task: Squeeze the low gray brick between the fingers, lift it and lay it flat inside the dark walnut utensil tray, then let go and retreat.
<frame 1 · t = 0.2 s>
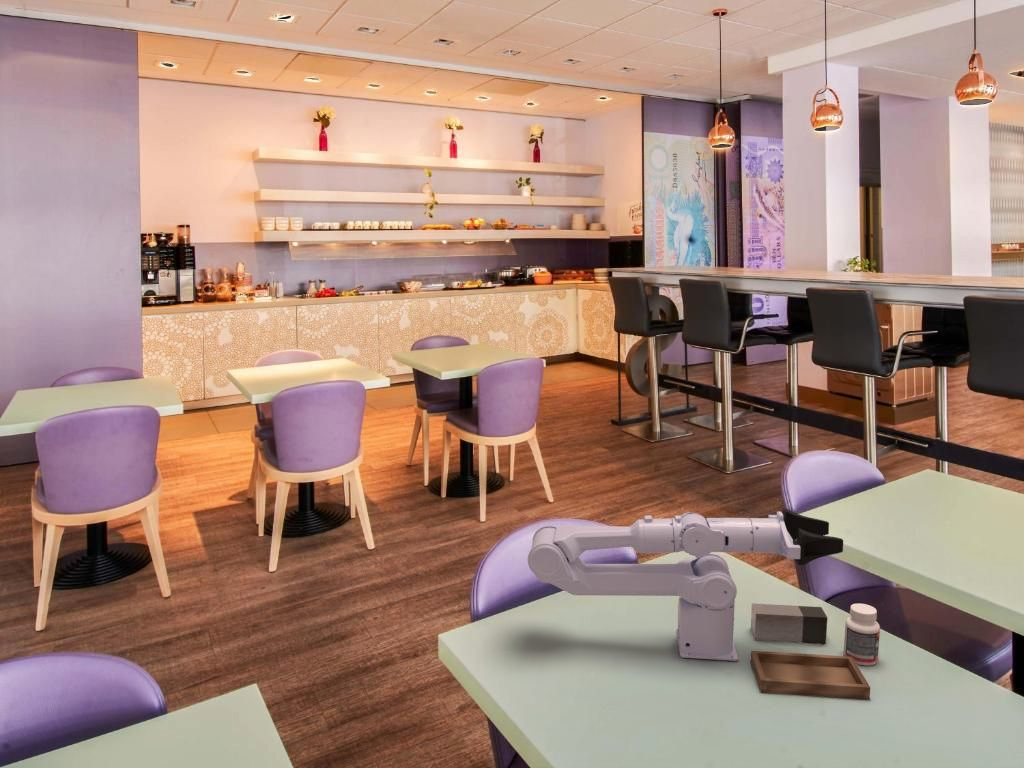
hand: (835, 536, 121), 21 cm above the table, tool horizontal, fingers open, 7 cm apart
low gray brick: (787, 636, 131), on the table
pill bottle: (860, 659, 124), on the table
walnut tray: (807, 679, 117), on the table
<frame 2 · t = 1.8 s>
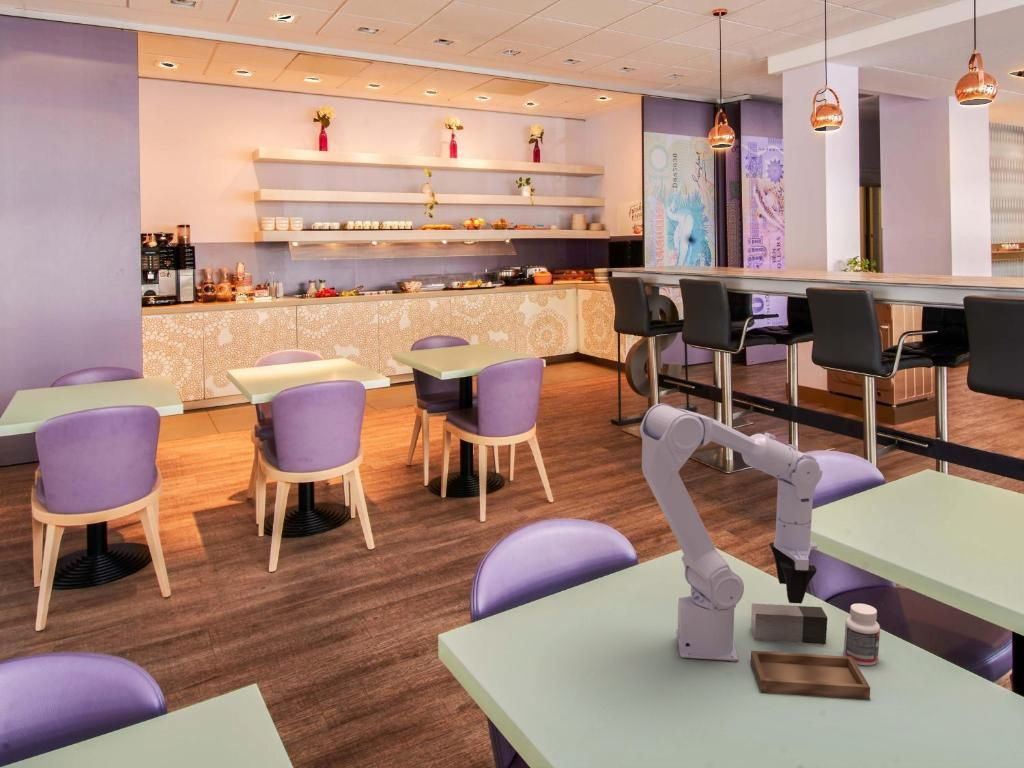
hand: (790, 592, 130), 8 cm above the table, tool pointing down, fingers open, 7 cm apart
nothing on the table moved.
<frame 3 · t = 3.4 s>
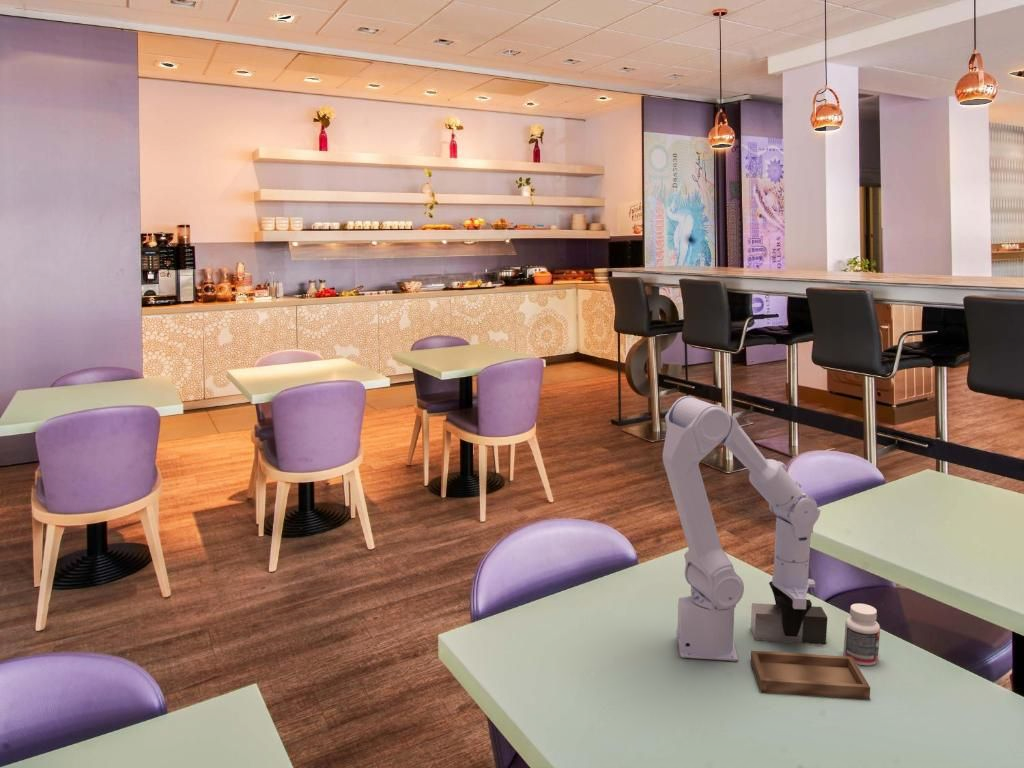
hand: (787, 629, 131), 1 cm above the table, tool pointing down, fingers closed on low gray brick, 4 cm apart
low gray brick: (787, 636, 131), on the table, touching gripper
everything else where it was.
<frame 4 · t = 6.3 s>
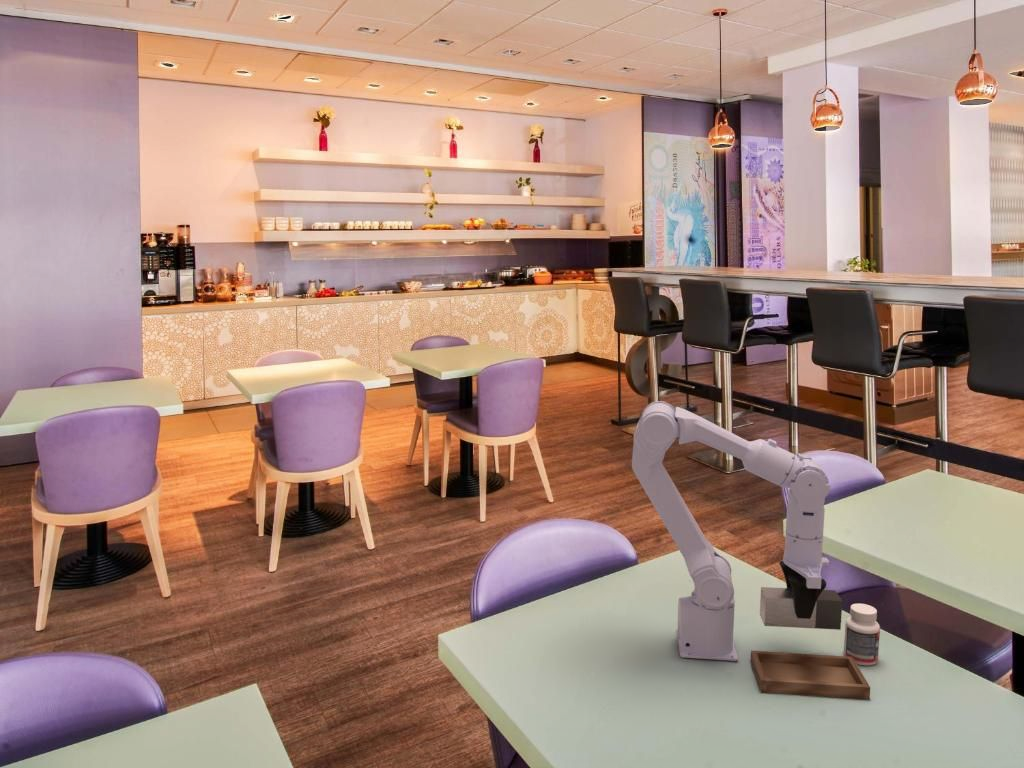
hand: (799, 611, 123), 8 cm above the table, tool pointing down, fingers closed on low gray brick, 4 cm apart
low gray brick: (799, 622, 123), point 6 cm above the table, touching gripper
everything else where it was.
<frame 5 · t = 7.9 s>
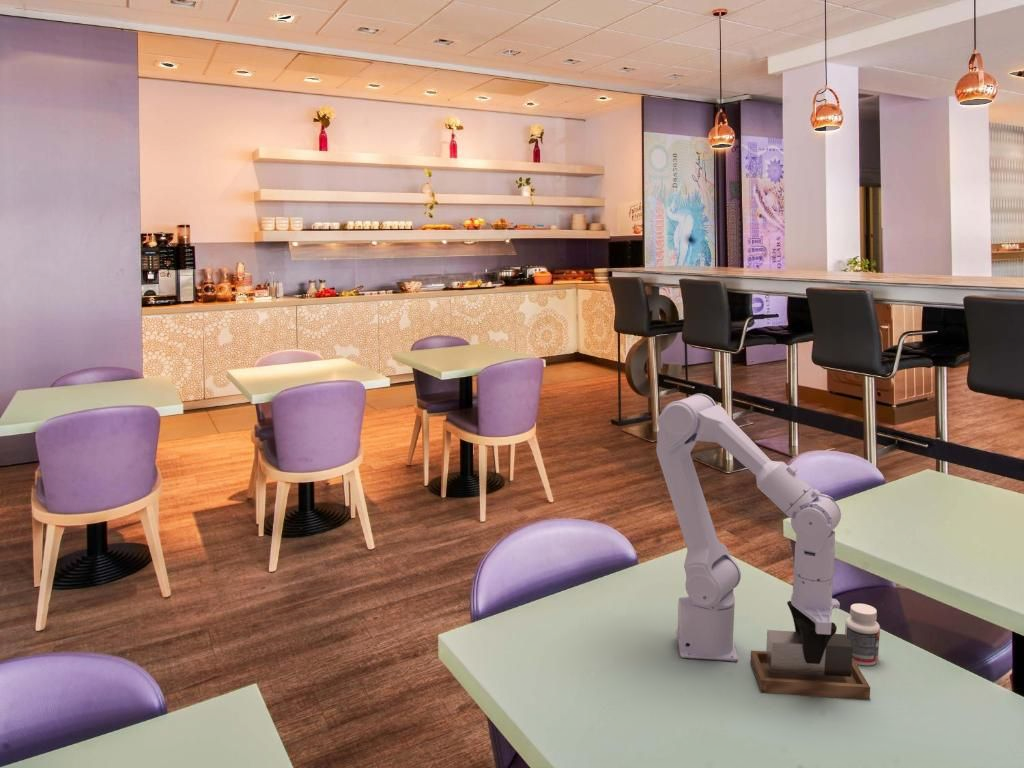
hand: (808, 654, 117), 4 cm above the table, tool pointing down, fingers closed on low gray brick, 4 cm apart
low gray brick: (807, 667, 117), point 2 cm above the table, touching gripper
everything else where it was.
when the fingers open (3 cm above the table, at t = 9.1 s): low gray brick stays where it is, resting on walnut tray.
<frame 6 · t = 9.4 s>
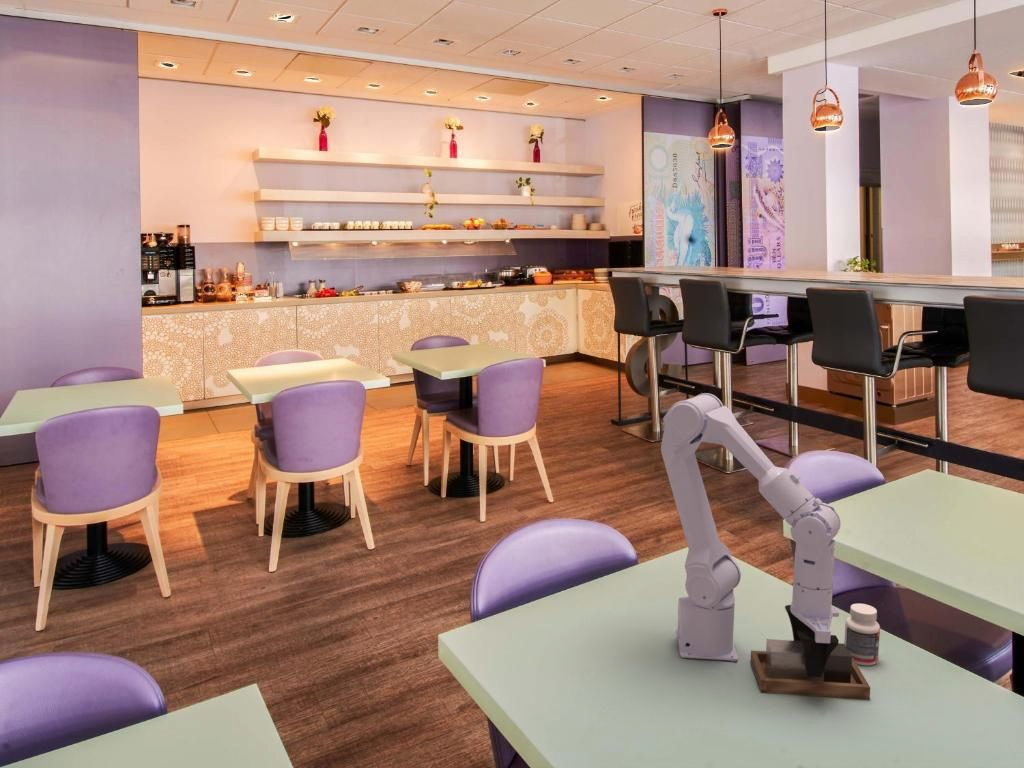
hand: (808, 662, 117), 3 cm above the table, tool pointing down, fingers open, 7 cm apart
low gray brick: (806, 676, 117), resting on walnut tray
everything else where it was.
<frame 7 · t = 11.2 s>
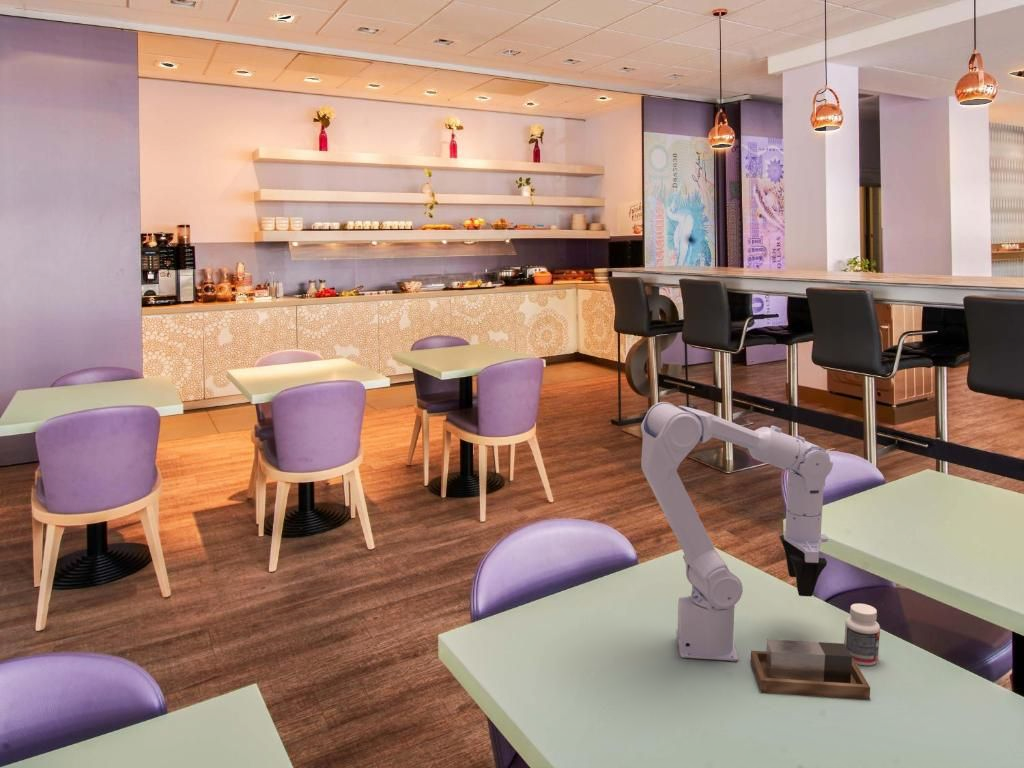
hand: (800, 585, 128), 10 cm above the table, tool pointing down, fingers open, 7 cm apart
nothing on the table moved.
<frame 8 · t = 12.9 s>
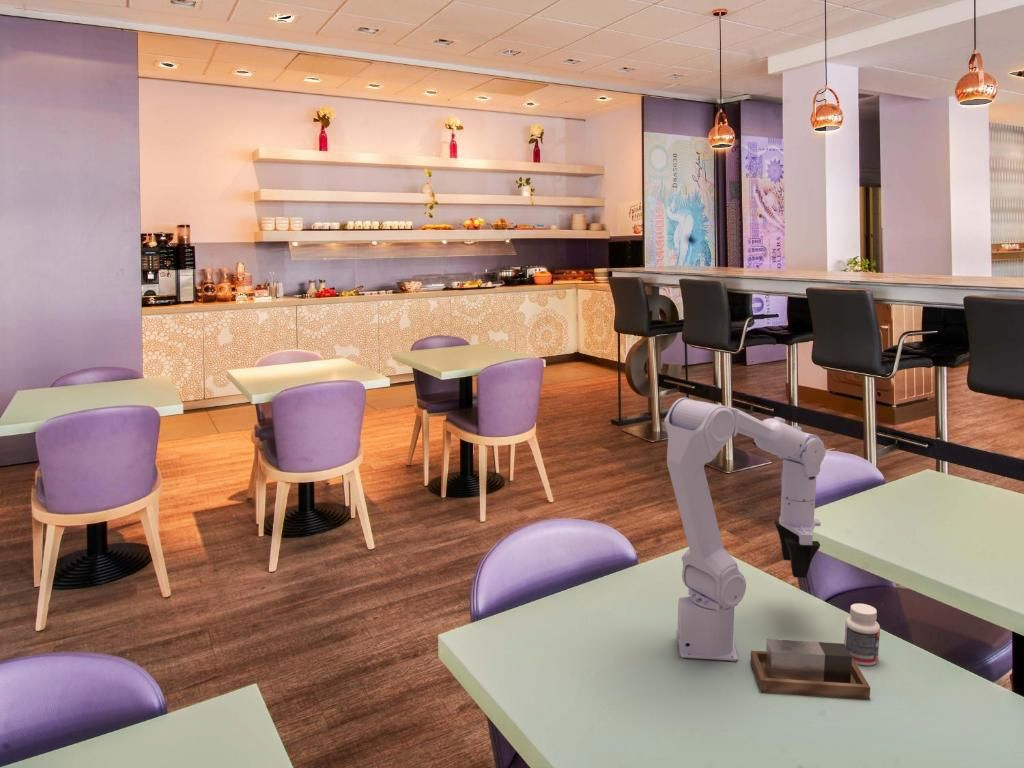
hand: (794, 568, 135), 10 cm above the table, tool pointing down, fingers open, 7 cm apart
nothing on the table moved.
at the end: low gray brick 0.1 cm off-centre on the walnut tray, point 0.5 cm above the walnut tray's base; low gray brick tilted 0°; the gripper is holding nothing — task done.
